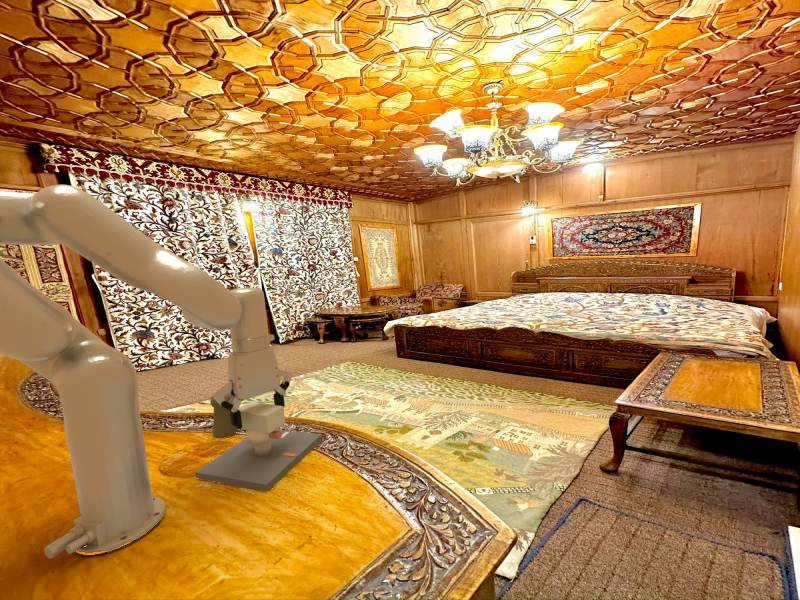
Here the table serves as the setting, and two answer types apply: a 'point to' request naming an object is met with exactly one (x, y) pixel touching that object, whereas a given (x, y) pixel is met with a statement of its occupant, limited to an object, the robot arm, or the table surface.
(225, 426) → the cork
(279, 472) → the base plate
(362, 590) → the table surface
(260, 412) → the cream rectangular block
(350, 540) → the table surface
